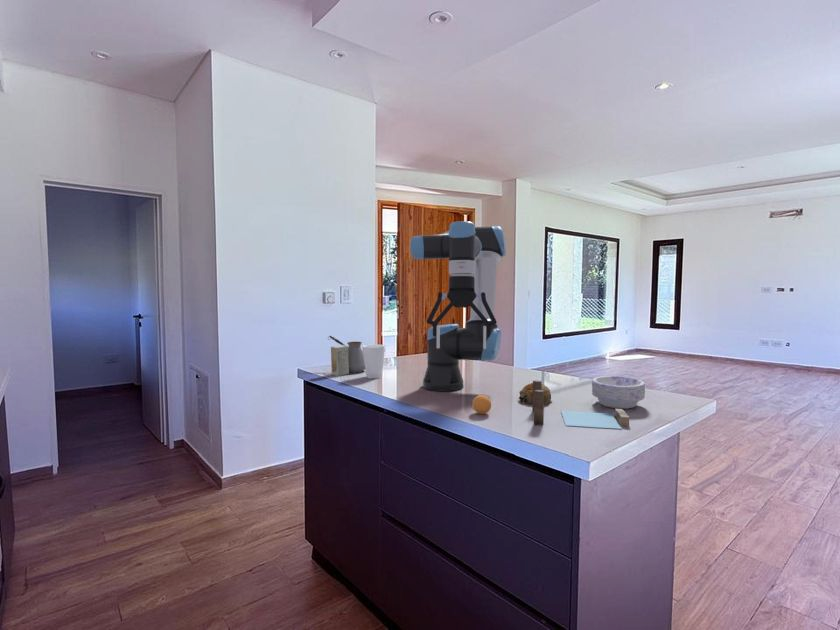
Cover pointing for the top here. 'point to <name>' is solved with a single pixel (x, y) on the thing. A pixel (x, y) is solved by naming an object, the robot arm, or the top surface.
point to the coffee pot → (354, 356)
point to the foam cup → (373, 359)
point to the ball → (481, 404)
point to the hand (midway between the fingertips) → (461, 348)
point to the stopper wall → (622, 417)
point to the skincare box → (339, 360)
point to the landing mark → (590, 420)
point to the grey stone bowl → (618, 391)
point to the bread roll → (527, 394)
